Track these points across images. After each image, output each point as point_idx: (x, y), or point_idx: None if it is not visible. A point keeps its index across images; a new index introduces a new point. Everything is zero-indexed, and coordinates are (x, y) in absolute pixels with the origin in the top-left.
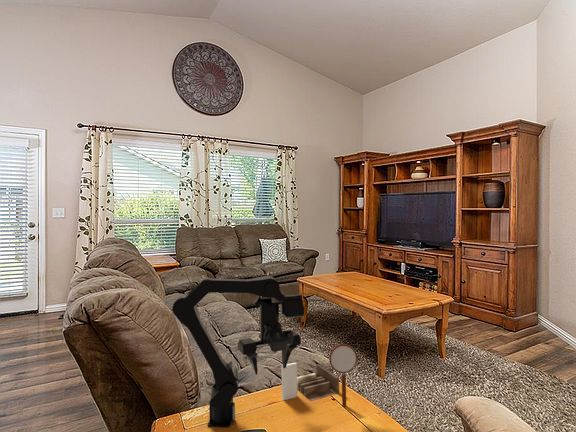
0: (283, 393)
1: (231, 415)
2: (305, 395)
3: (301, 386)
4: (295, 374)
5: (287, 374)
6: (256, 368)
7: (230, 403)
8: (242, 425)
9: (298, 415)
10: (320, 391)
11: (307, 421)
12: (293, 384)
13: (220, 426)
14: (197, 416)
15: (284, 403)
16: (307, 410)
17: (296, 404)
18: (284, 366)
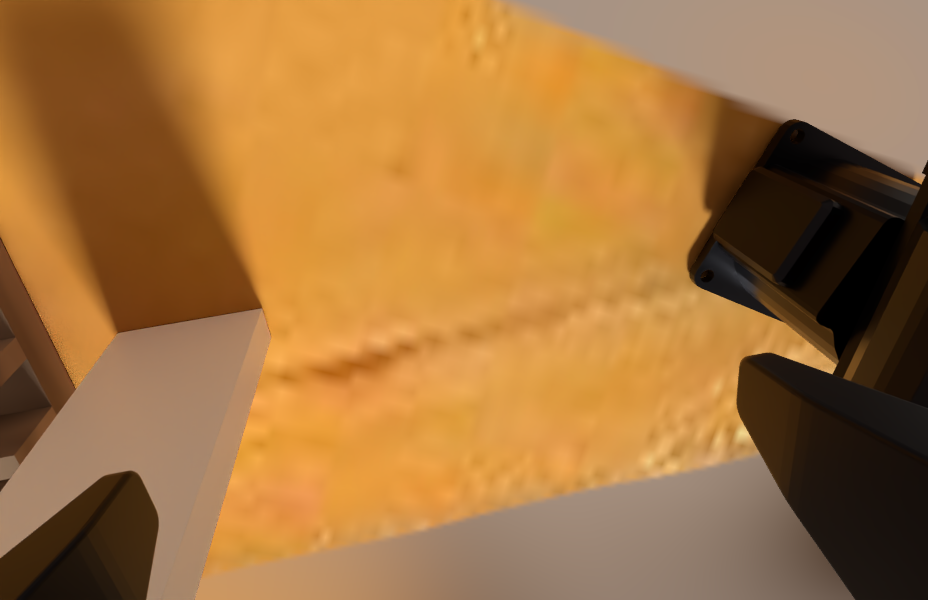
0: (241, 363)
1: (789, 180)
2: (6, 343)
3: (16, 447)
4: (5, 516)
5: None
6: (859, 408)
7: (868, 220)
8: (680, 110)
9: (146, 98)
10: None
11: None
12: (93, 426)
13: (844, 143)
14: None
15: None
16: (34, 157)
17: (136, 288)
18: (114, 497)
